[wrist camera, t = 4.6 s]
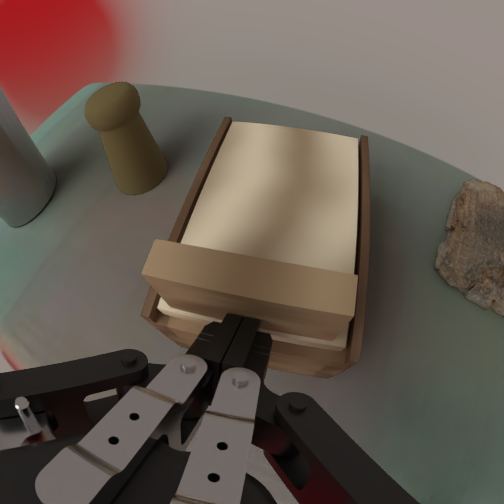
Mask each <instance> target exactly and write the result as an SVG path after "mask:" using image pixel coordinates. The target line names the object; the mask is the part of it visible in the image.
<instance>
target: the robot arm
mask: <svg viewBox="0 0 504 504" xmlns="http://www.w3.org/2000/svg"><path fill="white" fill-rule="evenodd" d="M55 185H56V177H55V174H54V173H53V171H52V170H51V168H50V167H49V165H48V164H47V162H46V161H45V159H44V158H43V156H42V155H41V153H40V152H39V150H38V149H37V147H36V146H35V144H34V142H33V141H32V139H31V138H30V136H29V135H28V133H27V131H26V130H25V128H24V127H23V125H22V123H21V122H20V120H19V118H18V117H17V115H16V113H15V111H14V110H13V108H12V106H11V105H10V103H9V101H8V99H7V97H6V96H5V94H4V92H3V90H2V89H1V87H0V217H1V218H2V219H3V220H4V221H5V222H6V223H7V224H8V225H9V226H11V227H19V226H22V225H24V224H26V223H28V222H29V221H30V220H32V219H33V218H34V217H35V216H36V215H37V214H39V213H40V211H41V210H42V209H43V208H44V207H45V205H46V204H47V202H48V201H49V200H50V198H51V196H52V194H53V191H54V189H55ZM260 324H261V320H257V319H252V318H247V317H242V316H238V315H233V314H229V313H227V314H226V316H225V317H224V319H223V321H222V322H221V323H219V322H215V321H213V322H211V323H209V324H207V325H205V326H204V328H203V329H202V331H201V333H200V334H199V335H198V337H197V339H195V341H194V342H193V344H192V345H191V347H190V348H189V350H188V351H187V352H186V354H185V355H179V356H176V357H174V358H173V359H171V360H170V362H169V363H168V364H165V365H163V364H151V363H148V359H147V357H146V355H145V354H144V353H142V352H140V351H138V350H134V349H124V350H120V351H115V352H111V353H106V354H102V355H97V356H93V357H88V358H83V359H78V360H73V361H68V362H63V363H58V364H52V365H47V366H41V367H36V368H30V369H24V370H18V371H11V372H5V373H0V504H277V503H276V501H275V500H274V498H273V497H272V495H271V494H270V492H269V491H268V490H267V489H266V487H265V486H264V485H263V484H262V483H260V482H259V481H258V480H257V479H255V478H254V477H252V476H251V475H249V474H247V473H246V469H247V463H248V458H249V452H250V447H251V444H253V445H255V446H257V447H259V448H261V449H263V451H264V455H265V457H266V459H267V460H268V462H269V463H270V464H271V466H272V467H273V469H274V470H275V472H276V473H277V474H278V476H279V477H280V478H281V480H282V481H283V483H284V484H285V485H286V487H287V488H288V489H289V491H290V492H291V493H292V495H293V496H294V497H295V499H296V500H297V501H298V503H299V504H420V503H418V502H417V501H416V500H415V499H414V498H413V497H412V496H411V495H410V494H408V493H407V492H406V491H405V490H404V489H403V488H402V487H401V486H400V485H399V484H398V483H397V482H396V481H394V480H393V479H392V478H391V477H390V476H389V475H388V474H387V473H386V472H385V471H384V470H383V469H382V468H381V467H380V466H379V465H378V464H377V463H376V462H375V461H374V460H373V459H371V458H370V457H369V456H368V455H367V454H366V453H365V452H364V451H363V450H362V449H361V448H360V447H359V446H358V445H357V444H356V443H355V442H354V441H353V440H352V439H351V438H350V437H349V436H348V435H347V434H346V433H345V432H344V431H343V429H342V428H341V427H340V426H339V425H338V424H337V423H336V422H335V421H334V420H333V419H332V418H331V417H330V416H329V415H328V414H327V413H326V412H325V411H324V410H323V409H322V408H321V407H320V406H319V405H318V403H317V402H316V401H315V400H314V399H313V398H311V397H310V396H308V395H306V394H303V393H298V392H290V393H286V394H283V395H282V396H279V395H277V394H274V393H273V392H271V391H270V390H269V389H267V387H266V386H265V385H264V379H265V375H266V371H267V368H268V363H269V358H270V353H271V348H272V343H273V340H272V337H271V335H270V333H265V332H260V331H259V330H260ZM115 388H116V391H117V395H113V396H109V397H105V398H101V399H97V400H93V401H89V402H85V401H83V400H84V398H85V397H86V396H88V395H91V394H95V393H99V392H103V391H107V390H111V389H115ZM209 405H210V406H211V407H210V410H209V411H206V410H207V408H208V406H209ZM200 425H201V426H200ZM199 427H200V428H199ZM198 428H199V431H198V434H197V437H196V440H195V442H194V445H193V448H192V451H191V452H186V451H185V450H186V448H187V447H188V445H189V443H190V442H191V440H192V438H193V437H194V435H195V433H196V432H197V430H198Z"/></svg>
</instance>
